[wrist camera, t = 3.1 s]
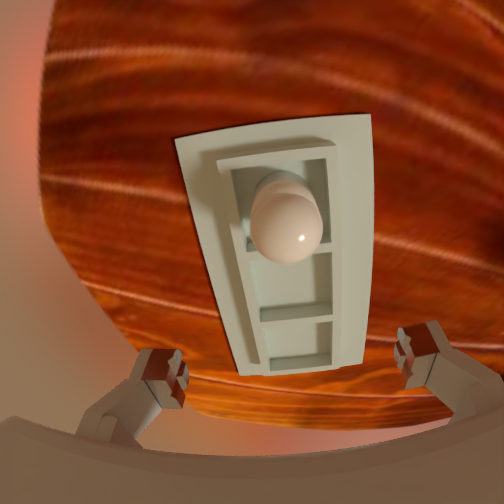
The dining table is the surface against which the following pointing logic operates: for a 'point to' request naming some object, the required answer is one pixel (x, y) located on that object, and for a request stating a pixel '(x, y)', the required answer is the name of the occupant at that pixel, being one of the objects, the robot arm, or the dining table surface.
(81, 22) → the dining table surface
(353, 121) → the egg tray
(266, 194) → the egg
